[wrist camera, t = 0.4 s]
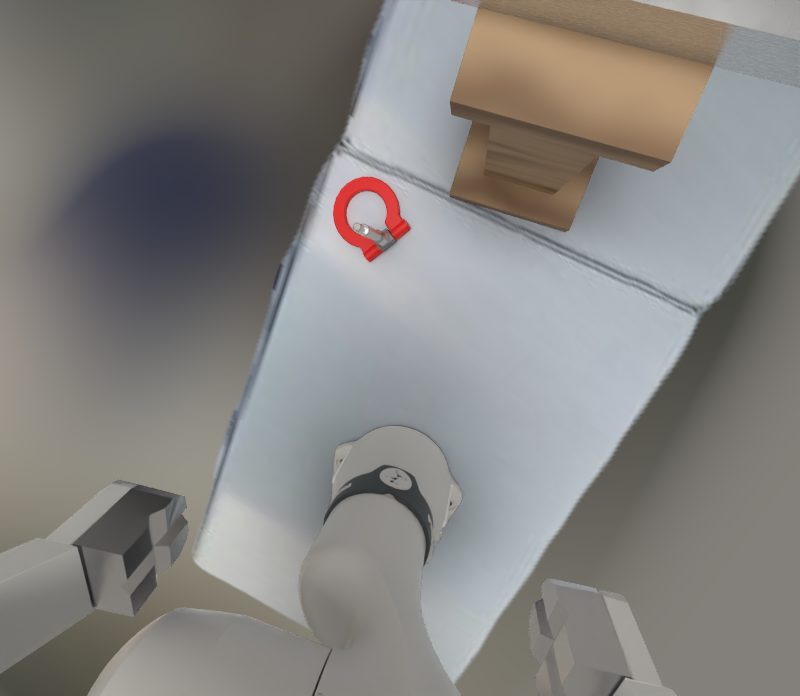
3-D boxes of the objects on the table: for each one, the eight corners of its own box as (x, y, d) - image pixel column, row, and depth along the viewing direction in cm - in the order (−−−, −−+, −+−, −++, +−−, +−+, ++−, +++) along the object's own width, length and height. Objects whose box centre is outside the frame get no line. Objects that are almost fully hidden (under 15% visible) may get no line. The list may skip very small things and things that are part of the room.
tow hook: (323, 209, 50) (366, 267, 50) (272, 184, 38) (329, 261, 38) (373, 164, 48) (418, 225, 48) (336, 122, 36) (396, 204, 36)
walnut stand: (564, 231, 45) (681, 187, 20) (450, 196, 47) (426, 115, 22) (617, 101, 42) (834, -145, 17) (491, 68, 43) (520, -204, 18)
